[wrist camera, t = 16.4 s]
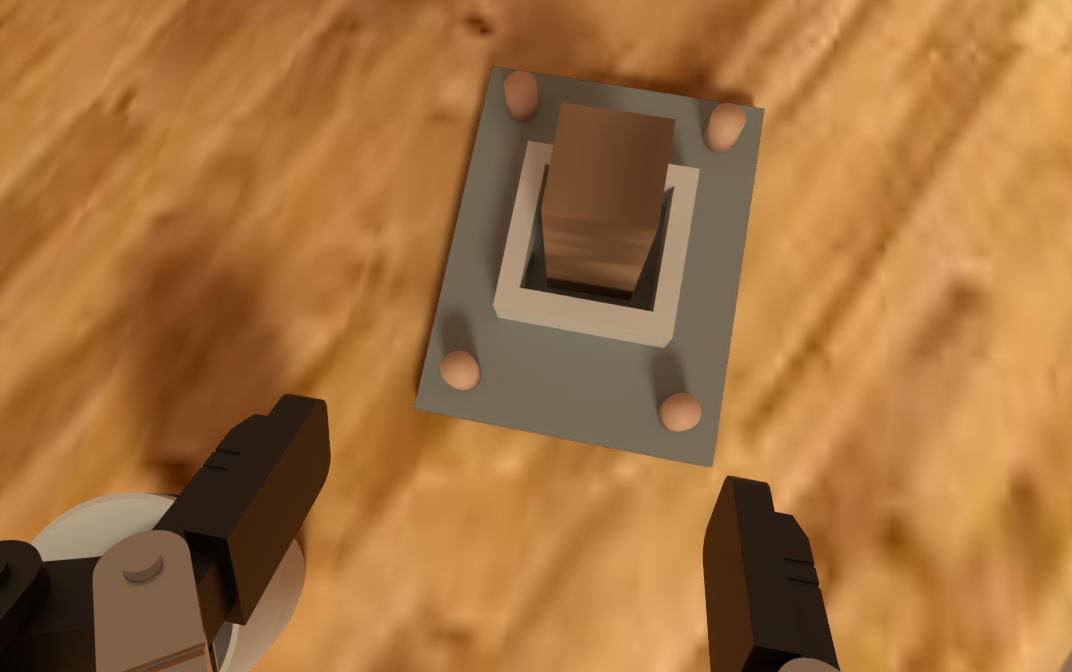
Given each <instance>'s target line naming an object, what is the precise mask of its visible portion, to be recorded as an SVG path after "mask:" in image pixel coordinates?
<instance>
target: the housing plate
mask: <svg viewBox="0 0 1072 672" xmlns="http://www.w3.org/2000/svg"><path fill="white" fill-rule="evenodd" d="M562 102H564V103H570V104H577V105H584V106H590V107H597V108H604V109H611V110H617V111H624V112H631V113H637V114H644V115H651V116H657V117H664V118H671V119H676V120H675V127H674V133H673V139H672V145H671V152H670V158H669V164H668V170H667V177H666V183H665V189H664V195H663V202H662V208H661V214H660V220H659V227H658V230H657V232H656V235H655V237H654V240H653V242H652V245H651V248H650V250H649V253H648V255H647V258H646V260H645V263H644V266H643V268H642V271H641V273H640V276H639V278H638V281H637V283H636V286H635V289H634V291H633V294H632V296H631V299H630V301H629V300H623V299H617V298H611V297H605V296H600V295H594V294H588V293H582V292H576V291H570V290H564V289H558V288H552V287H547V274H546V262H545V250H544V238H543V225H542V213H541V207H542V201H543V196H544V191H545V186H546V181H547V176H548V171H549V166H550V160H551V155H552V150H553V145H554V140H555V135H556V130H557V124H558V119H559V114H560V109H561V104H562ZM764 110H765V109H763V108H756V107H750V106H743V105H737V104H733V103H724V102H718V101H712V100H705V99H699V98H692V97H686V96H680V95H673V94H667V93H660V92H654V91H648V90H641V89H635V88H629V87H622V86H616V85H609V84H603V83H597V82H590V81H584V80H578V79H571V78H565V77H558V76H552V75H546V74H539V73H533V72H527V71H522V70H514V69H507V68H501V67H495V66H493V67H492V71H491V75H490V80H489V84H488V88H487V93H486V97H485V102H484V106H483V110H482V115H481V119H480V123H479V128H478V132H477V136H476V141H475V145H474V149H473V154H472V158H471V163H470V167H469V171H468V176H467V180H466V184H465V189H464V193H463V197H462V202H461V206H460V210H459V215H458V219H457V224H456V228H455V232H454V237H453V241H452V245H451V250H450V254H449V258H448V263H447V267H446V271H445V276H444V280H443V285H442V289H441V293H440V298H439V302H438V306H437V311H436V315H435V319H434V324H433V328H432V332H431V337H430V341H429V346H428V350H427V354H426V359H425V363H424V367H423V372H422V376H421V380H420V385H419V389H418V393H417V398H416V402H415V407H414V408H415V409H417V410H419V411H424V412H430V413H435V414H440V415H445V416H450V417H455V418H460V419H465V420H470V421H475V422H480V423H486V424H491V425H496V426H501V427H506V428H511V429H516V430H521V431H526V432H531V433H536V434H542V435H547V436H552V437H557V438H562V439H567V440H572V441H577V442H582V443H587V444H592V445H598V446H603V447H608V448H613V449H618V450H623V451H628V452H633V453H638V454H643V455H648V456H654V457H659V458H664V459H669V460H674V461H679V462H684V463H689V464H694V465H699V466H704V467H712V466H713V459H714V452H715V446H716V439H717V432H718V425H719V418H720V411H721V404H722V398H723V391H724V384H725V377H726V370H727V363H728V356H729V350H730V343H731V336H732V329H733V322H734V315H735V308H736V302H737V295H738V288H739V281H740V274H741V267H742V260H743V254H744V247H745V240H746V233H747V226H748V219H749V212H750V206H751V199H752V192H753V185H754V178H755V171H756V164H757V158H758V151H759V144H760V137H761V130H762V123H763V116H764Z"/></svg>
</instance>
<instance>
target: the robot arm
mask: <svg viewBox="0 0 1072 672" xmlns="http://www.w3.org/2000/svg"><path fill="white" fill-rule="evenodd" d="M330 458H331V454H330V440H329V427H328V414H327V405H326V402H325V401H324V400H321V399H316V398H310V397H305V396H299V395H294V394H285V395H284V396H282V398H281V399H280V400H279V401H278V403H277V404H276V405H275V407H274V408H273V410H272V411H271V412H270V414H269V415H268V416H264V415H258V414H254V415H252V416H251V417H249V418H248V419H246V420H244V421H243V422H241V423H240V424H238V425H237V426H235V427H234V428H232V429H231V430H230V431H229V433H228V434H227V435H226V436H225V438H224V439H223V440H222V441H221V443H220V444H219V445H218V447H217V448H216V452H213V453H212V454H211V455H210V457H209V458H208V459H207V461H206V462H205V463H204V466H203V468H200V469H199V471H198V472H197V473H196V475H195V476H194V477H193V478H192V480H191V481H190V482H189V483H188V485H187V486H186V487H185V489H184V490H183V491H182V492H181V494H180V495H179V496H178V497H177V499H176V500H175V501H174V503H173V504H172V505H171V506H170V508H169V509H168V510H167V511H166V513H165V514H164V515H163V517H162V518H161V519H160V520H159V522H158V523H157V524H156V525H155V526H154V528H153V529H152V530H151V531H145V532H141V533H137V534H134V535H131V536H129V537H127V538H125V539H123V540H121V541H119V542H118V543H116V544H115V545H113V546H112V547H111V548H109V549H108V550H107V551H106V552H105V553H104V554H103V555H102V556H97V557H89V558H78V559H66V560H54V561H43V560H42V558H41V556H40V553H39V552H38V550H37V549H36V548H35V547H34V546H33V545H31V544H29V543H27V542H23V541H18V540H4V541H0V672H219V669H218V663H217V658H216V652H215V647H214V643H213V640H214V639H215V637H216V635H217V633H218V632H219V630H220V628H221V627H222V625H223V623H224V622H229V623H234V624H239V625H244V626H245V625H246V624H247V622H248V620H249V618H250V617H251V615H252V613H253V611H254V609H255V608H256V606H257V604H258V602H259V600H260V599H261V597H262V595H263V593H264V591H265V590H266V588H267V586H268V584H269V582H270V581H271V579H272V577H273V575H274V573H275V572H276V570H277V568H278V566H279V564H280V563H281V561H282V559H283V557H284V555H285V554H286V552H287V550H288V548H289V546H290V545H291V543H292V541H293V539H294V538H295V536H296V534H297V532H298V530H299V529H300V527H301V525H302V523H303V521H304V520H305V518H306V516H307V514H308V512H309V511H310V509H311V507H312V505H313V503H314V502H315V500H316V498H317V496H318V494H319V493H320V491H321V489H322V487H323V485H324V483H325V481H326V478H327V475H328V471H329V466H330ZM703 569H704V583H705V597H706V612H707V626H708V640H709V654H710V668H711V672H841V671H840V668H839V665H838V662H837V657H836V653H835V649H834V645H833V640H832V636H831V632H830V628H829V624H828V619H827V615H826V611H825V607H824V602H823V598H822V594H821V590H820V589H819V587H818V586H819V581H818V577H817V573H816V568H814V560H813V556H812V552H811V547H810V543H809V539H808V537H807V536H806V534H805V533H804V531H803V530H802V529H801V527H800V526H799V524H798V523H797V521H796V520H795V518H794V517H793V515H789V514H784V513H778V512H775V511H774V506H773V501H772V496H771V490H770V487H769V485H768V483H766V482H761V481H756V480H750V479H745V478H739V477H734V476H727V477H726V479H725V480H724V483H723V485H722V488H721V491H720V494H719V496H718V499H717V502H716V504H715V507H714V510H713V512H712V515H711V518H710V521H709V523H708V526H707V529H706V533H705V538H704V545H703Z"/></svg>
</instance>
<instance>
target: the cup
mask: <svg viewBox="0 0 1072 672" xmlns="http://www.w3.org/2000/svg"><path fill="white" fill-rule="evenodd" d="M179 495H180V494H158V493H136V492H128V493H116V494H110V495H105V496H101V497H98V498H94V499H91V500H89V501H86V502H84V503H81V504H79V505H77V506H75V507H73V508H72V509H70V510H68V511H66V512H65V513H63V514H62V515H60V516H59V517H57V518H56V519H55V520H54V521H52V522H51V523H50V524H49V525H47V526H46V527H45V528H44V529H43V530H42V531H41V532H40V533H39V534H38V535H37V536H36V537H35V538H34V539H33V541H32V542H31V543H30V544H31V545H33V546H34V547H35V548H36V549H37V550H38V552H39V553H40V556H41V558H42V560H43V561H54V560H66V559H78V558H89V557H97V556H102V555H103V554H104V553H105V552H106V551H107V550H108V549H109V548H111V547H112V546H113V545H115V544H116V543H118V542H119V541H121V540H123V539H125V538H127V537H129V536H131V535H134V534H137V533H141V532H145V531H151V530H152V529H153V528H154V526H155V525H156V524H157V523H158V522H159V520H160V519H161V518H162V517H163V515H164V514H165V513H166V511H167V510H168V509H169V508H170V506H171V505H172V504H173V503H174V501H175V500H176V499H177V497H178V496H179ZM304 580H305V562H304V557H303V553H302V550H301V548H300V546H299V544H298V542H297V541H296V539H295V538H294V539H293V541H292V543H291V545H290V546H289V548H288V550H287V552H286V554H285V555H284V557H283V559H282V561H281V563H280V564H279V566H278V568H277V570H276V572H275V573H274V575H273V577H272V579H271V581H270V582H269V584H268V586H267V588H266V590H265V591H264V593H263V595H262V597H261V599H260V600H259V602H258V604H257V606H256V608H255V609H254V611H253V613H252V615H251V617H250V618H249V620H248V622H247V624H246V625H245V626H244V625H239V624H234V623H229V622H224V623H223V625H222V627H221V628H220V630H219V632H218V633H217V635H216V637H215V639H214V640H213V643H214V647H215V652H216V658H217V663H218V669H219V672H250V671H251V669H252V668H253V667H254V666H255V665H256V664H257V662H258V661H259V660H260V659H261V658H262V656H263V655H264V654H265V653H266V652H267V650H268V649H269V648H270V647H271V645H272V644H273V643H274V642H275V641H276V639H277V638H278V637H279V636H280V635H281V633H282V632H283V631H284V629H285V628H286V627H287V625H288V623H289V622H290V620H291V618H292V616H293V614H294V612H295V609H296V606H297V603H298V601H299V598H300V595H301V592H302V589H303V585H304Z"/></svg>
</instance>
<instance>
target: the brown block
mask: <svg viewBox="0 0 1072 672" xmlns="http://www.w3.org/2000/svg"><path fill="white" fill-rule="evenodd" d="M675 120H676V119H671V118H664V117H657V116H651V115H644V114H637V113H631V112H624V111H617V110H611V109H604V108H597V107H590V106H584V105H577V104H570V103H564V102H562V104H561V109H560V114H559V119H558V124H557V130H556V135H555V140H554V145H553V150H552V155H551V160H550V166H549V171H548V176H547V181H546V186H545V191H544V196H543V201H542V207H541V213H542V225H543V238H544V250H545V262H546V274H547V287H552V288H558V289H564V290H570V291H576V292H582V293H588V294H594V295H600V296H605V297H611V298H617V299H623V300H629V301H630V299H631V296H632V294H633V291H634V289H635V286H636V283H637V281H638V278H639V276H640V273H641V271H642V268H643V266H644V263H645V260H646V258H647V255H648V253H649V250H650V248H651V245H652V242H653V240H654V237H655V235H656V232H657V230H658V227H659V220H660V214H661V208H662V202H663V195H664V189H665V183H666V177H667V170H668V164H669V158H670V152H671V145H672V139H673V133H674V127H675Z"/></svg>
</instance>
